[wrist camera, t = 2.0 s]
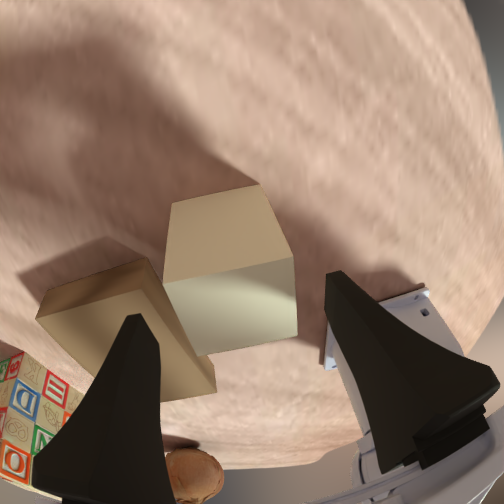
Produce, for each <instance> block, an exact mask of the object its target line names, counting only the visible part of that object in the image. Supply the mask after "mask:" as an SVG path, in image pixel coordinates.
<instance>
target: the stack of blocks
mask: <svg viewBox="0 0 504 504" xmlns="http://www.w3.org/2000/svg"><path fill="white" fill-rule="evenodd" d="M84 396H85V395H84V394H82V393H81V392H79V391H77V390H76V389H74V388H73V387H71V386H70V385H69V384H67V383H66V382H65V381H63V380H62V379H60V378H59V377H57V376H56V375H55V374H53V373H52V372H51V371H49V370H48V369H47V368H45V367H44V366H43V365H41V364H40V363H39V362H38V361H36V360H35V359H34V358H32V357H31V356H30V355H29V354H27V353H26V352H22V353H20V354H18V355H15V356H13V357H11V358H9V359H7V360H4V361H2V362H0V477H2V479H3V480H5V481H7V482H9V483H12V484H14V485H16V486H18V487H21V488H23V489H26V490H29V491H33V492H36V493H39V494H42V495H45V496H48V497H51V498H54V499H57V500H60V501H62V498H60V497H57V496H54V495H51V494H48V493H46V492H43V491H40V490H38V489H35V488H34V487H33V486H32V485H31V479H32V464H33V457H34V456H35V455H36V454H37V453H38V452H39V451H40V450H41V449H43V448H44V447H45V446H46V445H47V444H48V443H49V441H50V440H51V439H52V438H53V437H54V436H55V435H56V434H57V433H58V431H59V430H60V429H61V428H62V427H63V425H64V424H65V423H66V421H67V420H68V419H69V417H70V416H71V415H72V413H73V412H74V411H75V409H76V408H77V406H78V405H79V404H80V402H81V401H82V399H83V397H84Z"/></svg>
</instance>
